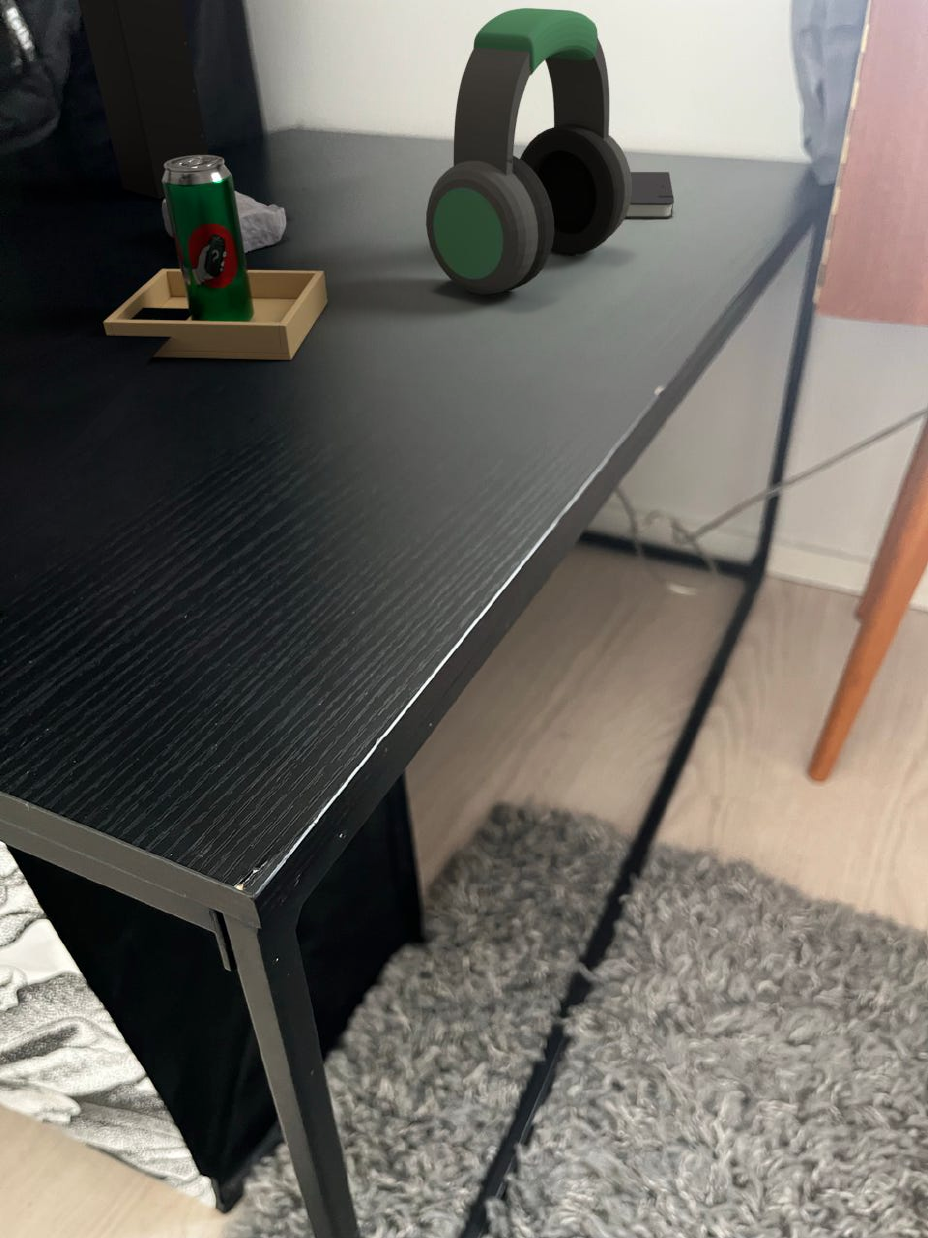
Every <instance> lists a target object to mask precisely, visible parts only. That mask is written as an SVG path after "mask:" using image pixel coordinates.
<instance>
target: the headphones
mask: <svg viewBox="0 0 928 1238" xmlns="http://www.w3.org/2000/svg"><path fill="white" fill-rule="evenodd" d="M598 34H599V33H598V29H597V25H596V23H595V22H594V21H593V20H591V19H590V18H589V17H588V16H587V15H585V14H583V13H581V12H578V11H574V10H569V9H568V10H567V9H553V8H551V9H550V8H535V7H534V8H533V7H522V8H514V9H510V10H507V11H504V12H502V13H499V14H498V15H496V16H494V17H493V18H491V19H490V20H489V21H488V22H486V23H485V24H484V25H483V26H482V27H481V28H480V29H479V31H478V32H477V33H476V35H475V37H474V41H473V49H472V51H471V53H470V55H469V58H468V59H467V62H466V63H465V67H464V71H463V73H462V77H461V80H460V85H459V89H458V95H457V100H456V101H457V102H456V107H455V117H454V131H453V166H452V167H450V168H448V169H447V170H445V172H444V173H443V174H442V175H441V176H440V177H439V178H438V179H437V180H436V182H435V183H434V186H433V187H432V190H431V192H430V195H429V198H428V202H427V207H426V214H425V215H426V217H425V227H426V235H427V239H428V243H429V247H430V249H431V252H432V254H433V256H434V259H435V260H436V262H437V264H438V266H439V267H440V269H441V270H442V271H443V272H444V273H445V275H446V276H447V277H448V278H449V279H450V280H451V281H452V282H454V283H455V284H457V285H458V286H459V287H461V288H463V289H464V290H465V291H468V292H471V293H474V294H478V295H491V294H499V293H502V292H510V291H513V290H515V289H518V288H520V287H522V286H524V285H526V284H528V283H529V282H530V281H532V280H533V279H535V278H536V277H537V276H538V274H539V273H540V272H541V271H542V270H543V269H544V267H545V265H546V263H547V261H548V259H549V257H550V255H551V253H554V254H557V255H560V256H565V257H575V256H581V255H584V254H586V253H589V252H591V251H593V250H595V249H596V248H597V249H598V247H600V246H601V245H603V244H604V243H605V242H607V240H608V239H609V238H610V237H611V236H612V235H614V233H615V232H616V231H617V230H618V228H620V226H621V225H622V223H624V221H625V219H626V218H625V217H626V215H627V212H628V209H629V206H630V202H631V196H632V178H631V172H632V171H631V168H630V165H629V162H628V158H627V157H626V154H625V153H624V150H623V149H622V147H621V146H620V144H618V142H617V141H616V140H615V139H614V137H613V136H611V135H610V83H609V81H610V80H609V71H608V67H607V66H608V65H607V61H606V55H605V53H604V49H603V46H602V44H601V42H600V39H599V37H598V36H599V35H598ZM544 61H545V63H546V66H547V70H548V74H549V79H550V84H551V93H552V105H553V107H552V109H553V126H552V127H550V128H547V129H545V130H543V131H541V132H540V133H538V134H537V135H536V136H535V137H533V139H531V140H530V141H529V142H528V143H527V145H526V147H525V148H524V150H523V151H522V153H521V156H520V157H517V156H515V155H514V149H515V139H516V129H517V122H518V117H519V110H520V106H521V103H522V99H523V95H524V92H525V89H526V86H527V84H528V81H529V78H530V77H531V76H532V75H533V74H534V72H535V71H536V70H537V69H538V68H539V66H540V65H541V64H543V63H544Z"/></svg>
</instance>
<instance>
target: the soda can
mask: <svg viewBox="0 0 928 1238" xmlns="http://www.w3.org/2000/svg"><path fill="white" fill-rule="evenodd" d="M164 168H165V169H166V170H165V173H164V176H163V179H162V184H163V189H164V193H165V198H164V199H166V203H167V208H168V213H169V217H170V222H171V227H172V232H173V236H174V238H173V241H174V246H175V251H176V255H177V260H178V265H179V269H180V270H181V275H182V279H183V284H184V289H185V294H186V299H187V303H188V308H187V309H188V313H189V315H190V316H189V317H190V318H191V321H222V322H250V321H251V319H252V317H253V315H254V306H253V300H252V294H251V288H250V282H249V276H248V270H249V269H248V264H247V258H246V253H245V252H244V246H243V240H242V233H241V227H240V221H239V215H238V209H237V203H236V197H235V191H236V190H235V187H234V186H235V185H234V180H233V179H234V178H233V175H232V173H231V171H230V170H229V169H228V168H227V166H226V165H225V158H223V157H221V156H217V155H211V154H208V155H193V156H185V157H179V158H175V159H172V160H169V161H167V162H166V163H165V164H164Z"/></svg>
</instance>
